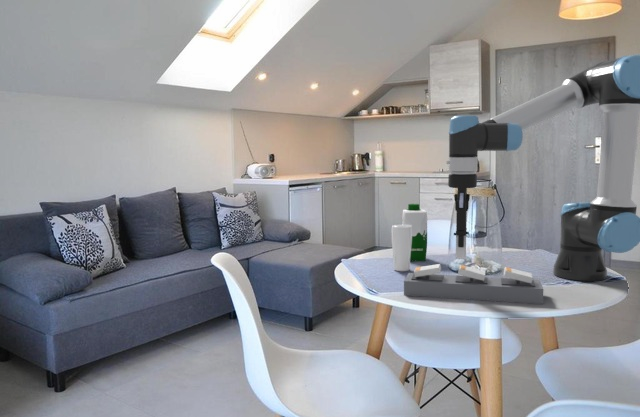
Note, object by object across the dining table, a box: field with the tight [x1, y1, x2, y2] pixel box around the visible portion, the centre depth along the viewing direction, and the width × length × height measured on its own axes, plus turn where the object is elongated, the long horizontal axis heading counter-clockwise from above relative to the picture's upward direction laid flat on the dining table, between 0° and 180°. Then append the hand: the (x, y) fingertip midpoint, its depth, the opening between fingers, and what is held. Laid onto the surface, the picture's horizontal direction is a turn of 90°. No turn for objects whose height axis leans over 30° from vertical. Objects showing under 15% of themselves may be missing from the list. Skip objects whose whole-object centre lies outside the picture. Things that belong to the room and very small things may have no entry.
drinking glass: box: [391, 224, 412, 272], centre depth 178 cm, size 7×7×15 cm
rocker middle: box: [457, 264, 486, 281], centre depth 148 cm, size 7×5×2 cm
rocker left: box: [413, 263, 442, 277], centre depth 152 cm, size 7×5×2 cm
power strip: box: [403, 272, 544, 305], centre depth 149 cm, size 36×10×5 cm, turn 73°
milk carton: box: [402, 203, 428, 262], centre depth 195 cm, size 9×9×20 cm
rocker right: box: [503, 266, 534, 283], centre depth 145 cm, size 7×5×2 cm
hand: (460, 258), depth 148 cm, fingers closed
